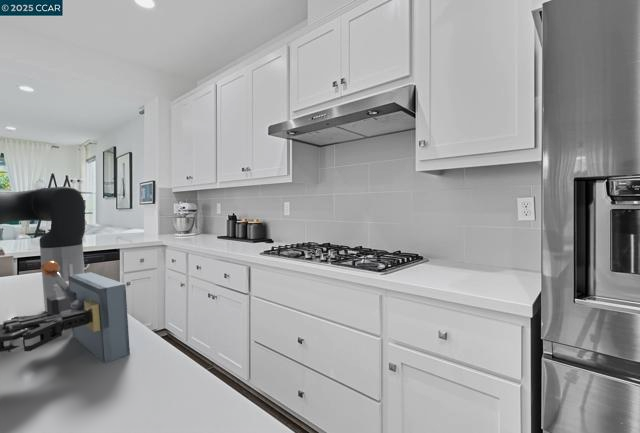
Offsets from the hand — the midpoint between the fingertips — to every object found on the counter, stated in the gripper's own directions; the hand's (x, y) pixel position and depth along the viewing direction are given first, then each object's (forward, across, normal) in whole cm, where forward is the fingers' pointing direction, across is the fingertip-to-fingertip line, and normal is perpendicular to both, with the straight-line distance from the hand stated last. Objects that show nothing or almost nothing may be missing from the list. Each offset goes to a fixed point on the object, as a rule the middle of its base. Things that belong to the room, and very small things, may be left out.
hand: (88, 316), depth 58 cm
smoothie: (+4, +27, +8) cm, 29 cm away
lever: (0, +7, -1) cm, 7 cm away
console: (+3, +7, +8) cm, 11 cm away
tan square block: (+2, 0, +2) cm, 3 cm away
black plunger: (-1, +14, +1) cm, 14 cm away
